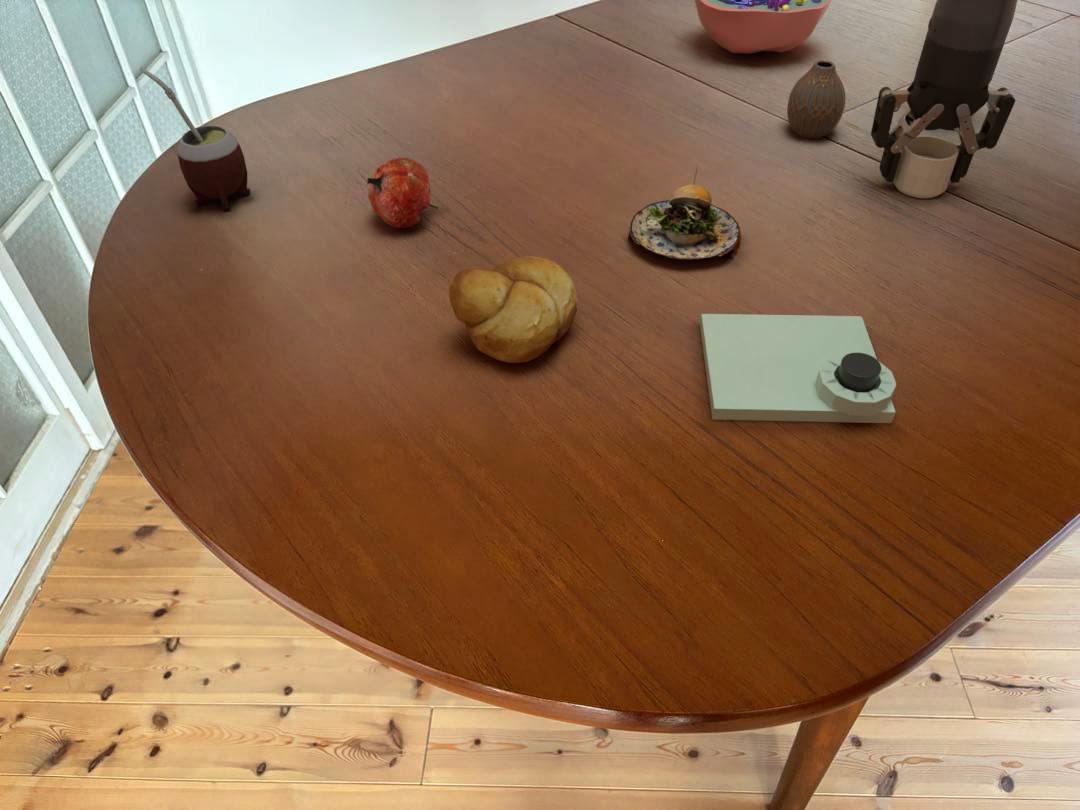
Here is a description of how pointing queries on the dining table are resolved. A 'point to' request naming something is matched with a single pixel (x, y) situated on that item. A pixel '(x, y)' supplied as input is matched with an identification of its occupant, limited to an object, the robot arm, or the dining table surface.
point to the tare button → (859, 372)
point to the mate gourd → (209, 159)
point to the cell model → (760, 23)
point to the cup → (925, 166)
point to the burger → (686, 226)
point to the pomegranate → (400, 192)
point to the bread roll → (515, 307)
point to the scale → (789, 369)
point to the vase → (816, 101)
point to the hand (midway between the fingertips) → (920, 178)
